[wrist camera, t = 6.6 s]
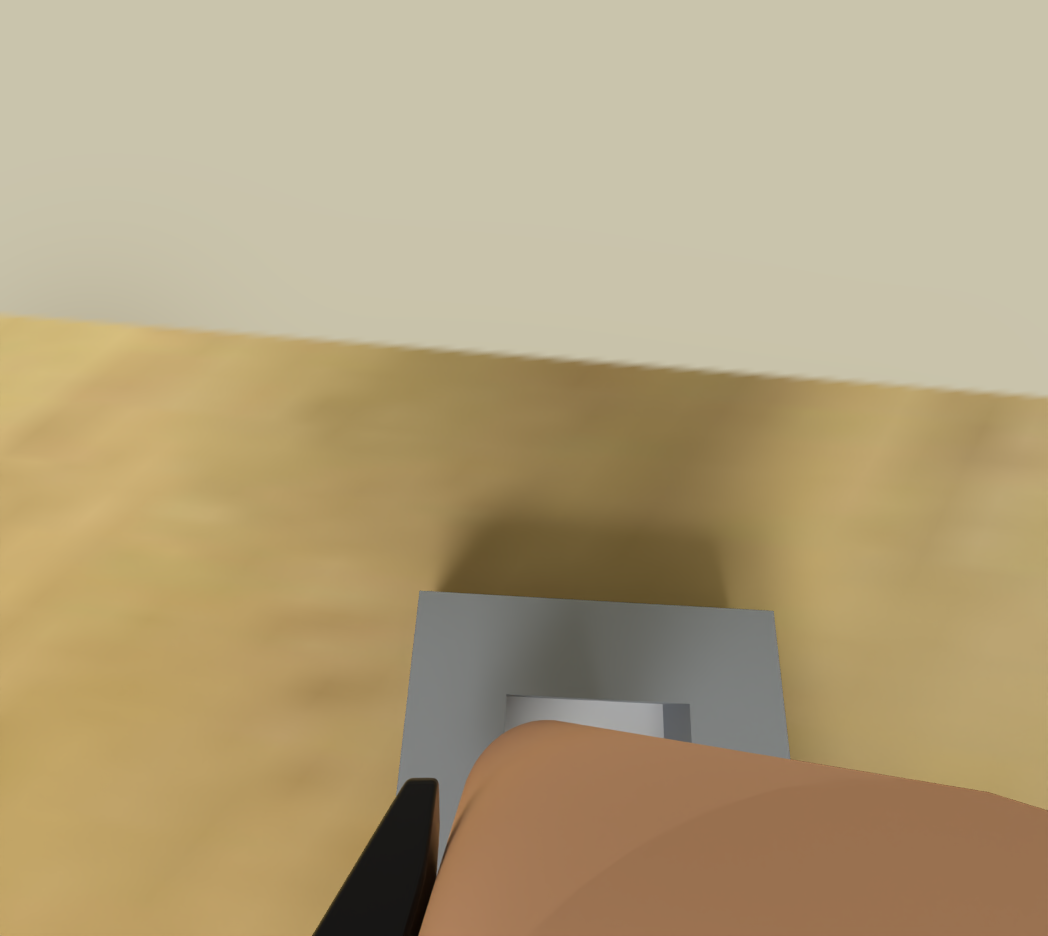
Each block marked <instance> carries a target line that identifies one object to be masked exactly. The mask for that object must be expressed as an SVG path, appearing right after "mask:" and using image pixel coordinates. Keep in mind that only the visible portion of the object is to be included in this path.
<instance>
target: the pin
mask: <svg viewBox="0 0 1048 936" xmlns="http://www.w3.org/2000/svg"><path fill="white" fill-rule="evenodd" d="M418 936H1048V811H1047V810H1044V809H1041V808H1038V807H1034V806H1031V805H1028V804H1025V803H1021V802H1018V801H1015V800H1012V799H1008V798H1005V797H1002V796H999V795H995V794H992V793H989V792H984V791H978V790H972V789H966V788H960V787H954V786H948V785H942V784H936V783H930V782H924V781H918V780H912V779H906V778H900V777H894V776H888V775H882V774H876V773H870V772H864V771H858V770H852V769H846V768H840V767H834V766H828V765H822V764H816V763H810V762H804V761H798V760H791V759H785V758H779V757H773V756H767V755H761V754H755V753H749V752H743V751H737V750H731V749H725V748H719V747H713V746H707V745H701V744H695V743H689V742H683V741H677V740H671V739H665V738H659V737H653V736H647V735H641V734H635V733H629V732H623V731H617V730H611V729H605V728H599V727H593V726H587V725H581V724H575V723H569V722H563V721H557V720H538V721H531V722H528V723H524V724H521V725H518V726H516V727H514V728H511V729H510V730H508V731H506V732H505V733H503V734H501V735H500V736H499V737H498V738H496V739H495V740H494V741H493V742H492V743H491V744H490V745H489V746H488V747H487V748H486V749H485V750H484V751H483V752H482V754H481V755H480V756H479V758H478V759H477V761H476V762H475V764H474V766H473V768H472V769H471V771H470V773H469V776H468V778H467V780H466V783H465V786H464V789H463V792H462V796H461V799H460V802H459V805H458V809H457V812H456V815H455V818H454V822H453V825H452V828H451V831H450V835H449V838H448V841H447V844H446V848H445V851H444V854H443V857H442V861H441V864H440V867H439V870H438V874H437V877H436V880H435V883H434V887H433V890H432V893H431V896H430V900H429V903H428V906H427V909H426V913H425V916H424V919H423V922H422V926H421V929H420V932H419V935H418Z"/></svg>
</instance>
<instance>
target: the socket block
mask: <svg viewBox="0 0 1048 936" xmlns="http://www.w3.org/2000/svg"><path fill="white" fill-rule="evenodd" d="M538 720H557V721H563V722H569V723H575V724H581V725H587V726H593V727H599V728H605V729H611V730H617V731H623V732H629V733H635V734H641V735H647V736H653V737H659V738H665V739H671V740H677V741H683V742H689V743H695V744H701V745H707V746H713V747H719V748H725V749H731V750H737V751H743V752H749V753H755V754H761V755H767V756H773V757H779V758H785V759H790V752H789V743H788V735H787V726H786V717H785V708H784V699H783V690H782V682H781V673H780V664H779V655H778V646H777V638H776V629H775V620H774V611H765V610H748V609H730V608H713V607H695V606H678V605H660V604H643V603H625V602H608V601H590V600H573V599H555V598H538V597H520V596H503V595H485V594H468V593H451V592H433V591H420V592H419V600H418V609H417V618H416V627H415V635H414V644H413V653H412V662H411V671H410V679H409V688H408V697H407V706H406V714H405V723H404V732H403V741H402V749H401V758H400V767H399V776H398V785H397V793H396V796H397V794H398V793H399V791H400V789H401V788H402V786H403V785H404V783H405V782H406V781H407V780H408V779H410V778H435V779H437V780H438V783H439V810H440V832H439V848H438V862H437V874H438V870H439V867H440V864H441V861H442V857H443V854H444V851H445V848H446V844H447V841H448V838H449V835H450V831H451V828H452V825H453V822H454V818H455V815H456V812H457V809H458V805H459V802H460V799H461V796H462V792H463V789H464V786H465V783H466V780H467V778H468V776H469V773H470V771H471V769H472V768H473V766H474V764H475V762H476V761H477V759H478V758H479V756H480V755H481V754H482V752H483V751H484V750H485V749H486V748H487V747H488V746H489V745H490V744H491V743H492V742H493V741H494V740H495V739H496V738H498V737H499V736H500V735H501V734H503V733H505V732H506V731H508V730H510V729H511V728H514V727H516V726H518V725H521V724H524V723H528V722H531V721H538ZM436 877H437V876H436Z"/></svg>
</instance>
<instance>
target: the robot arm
mask: <svg viewBox="0 0 1048 936" xmlns="http://www.w3.org/2000/svg"><path fill="white" fill-rule="evenodd" d="M439 832H440V810H439V783H438V780H437V779H435V778H410V779H408V780H407V781H406V782H405V783H404V785H403V786H402V788H401V789H400V791H399V793H398V794H397V796H396V798H395V799H394V801H393V803H392V804H391V806H390V808H389V809H388V811H387V813H386V814H385V816H384V818H383V819H382V821H381V823H380V824H379V826H378V827H377V829H376V831H375V832H374V834H373V836H372V837H371V839H370V841H369V842H368V844H367V846H366V847H365V849H364V851H363V852H362V854H361V856H360V857H359V859H358V861H357V862H356V864H355V866H354V867H353V869H352V871H351V872H350V874H349V876H348V877H347V879H346V880H345V882H344V884H343V885H342V887H341V889H340V890H339V892H338V894H337V895H336V897H335V899H334V900H333V902H332V904H331V905H330V907H329V909H328V910H327V912H326V914H325V915H324V917H323V919H322V920H321V922H320V924H319V925H318V927H317V928H316V930H315V932H314V933H313V935H312V936H418V935H419V932H420V929H421V926H422V922H423V919H424V916H425V913H426V909H427V906H428V903H429V900H430V896H431V893H432V890H433V887H434V883H435V880H436V876H437V862H438V848H439Z"/></svg>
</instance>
